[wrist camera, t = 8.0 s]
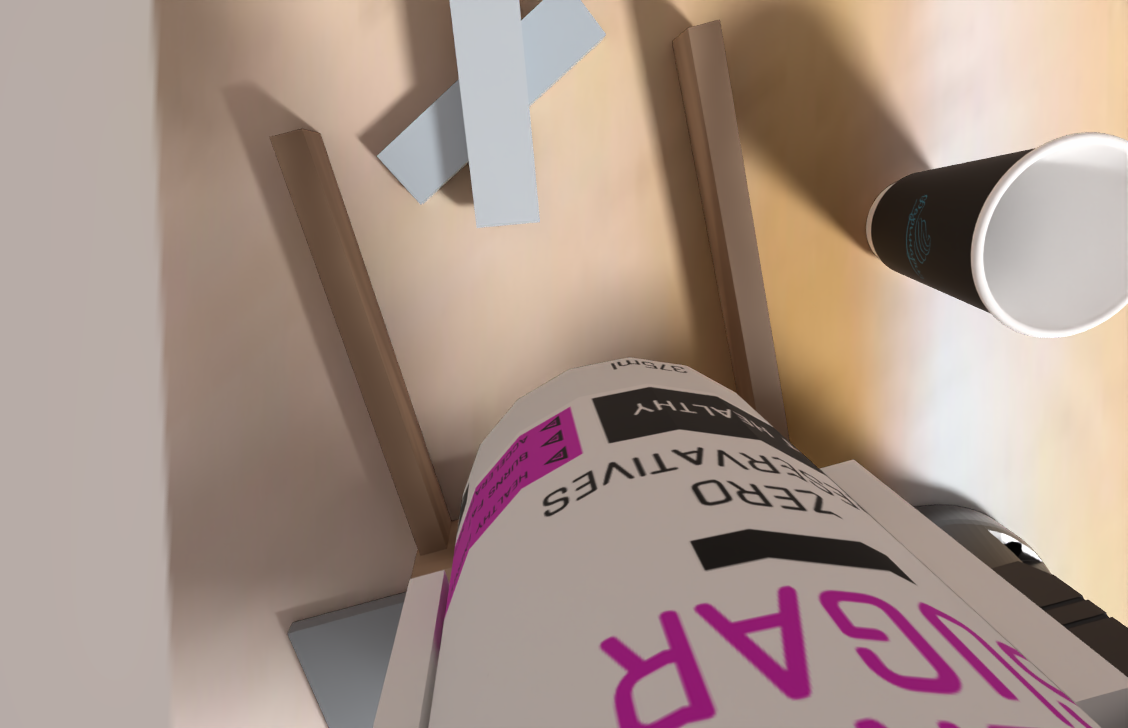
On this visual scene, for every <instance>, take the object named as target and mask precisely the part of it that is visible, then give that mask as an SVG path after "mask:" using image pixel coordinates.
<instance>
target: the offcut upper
mask: <svg viewBox="0 0 1128 728" xmlns="http://www.w3.org/2000/svg"><path fill="white" fill-rule="evenodd" d="M449 1H450V9H451V17H452V26H453V34H454V42H455V51H456V59H457V67H458V76H459V84H460V92H461V100H462V109H463V117H464V125H465V134H466V142H467V150H468V159H469V167H470V175H471V184H472V192H473V200H474V209H475V217H476V225H477V228H481V227H492V226H503V225H513V224H524V223H535V222H540V217H539V207H538V196H537V185H536V174H535V164H534V153H533V142H532V132H531V121H530V110H529V100H528V89H527V78H526V68H525V57H524V46H523V36H522V25H521V14H520V3H519V0H449Z"/></svg>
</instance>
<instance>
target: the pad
mask: <svg viewBox="0 0 1128 728" xmlns="http://www.w3.org/2000/svg"><path fill="white" fill-rule="evenodd" d="M405 596H406V592H404V593H401V594H397V595H393V596H390V597H386V598H382V599H379V600H375V601H371V602H367V603H364V604H360V605H356V606H353V607H349V608H345V609H342V610H338V611H334V612H330V613H327V614H323V615H319V616H316V617H312V618H308V619H305V620H301V621H297V622H293V623H292V625H291V627H290V629H289V631H288V633H287V634H288V636H289V639H290V641H291V643H292V645H293V648H294V650H295V652H296V654H297V657H298V659H299V661H300V663H301V666H302V668H303V670H304V673H305V675H306V677H307V679H308V682H309V684H310V686H311V688H312V691H313V693H314V695H315V697H316V700H317V702H318V704H319V706H320V709H321V711H322V713H323V715H324V718H325V720H326V722H327V724H328V727H329V728H373V725H374V721H375V717H376V713H377V709H378V705H379V701H380V697H381V693H382V689H383V685H384V681H385V677H386V673H387V669H388V665H389V661H390V657H391V653H392V649H393V645H394V641H395V637H396V633H397V629H398V624H399V620H400V616H401V612H402V608H403V604H404V600H405Z"/></svg>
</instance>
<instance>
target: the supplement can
mask: <svg viewBox="0 0 1128 728" xmlns="http://www.w3.org/2000/svg"><path fill="white" fill-rule="evenodd" d="M428 728H1101V727H1100V726H1099V725H1098V724H1097V723H1096V722H1095V721H1094V720H1093V719H1091V718H1090V717H1089V716H1088V715H1087V714H1086V713H1085V712H1084V711H1083V710H1082V709H1081V708H1079V707H1078V706H1077V705H1076V704H1075V703H1074V702H1073V701H1072V700H1071V699H1070V698H1069V697H1067V696H1066V695H1065V694H1064V693H1063V692H1062V691H1061V690H1060V689H1059V688H1058V687H1057V686H1055V685H1054V684H1053V683H1052V682H1051V681H1050V680H1049V679H1048V678H1047V677H1046V676H1045V675H1043V674H1042V673H1041V672H1040V671H1039V670H1038V669H1037V668H1036V667H1035V666H1034V665H1033V664H1031V663H1030V662H1029V661H1028V660H1027V659H1026V658H1025V657H1024V656H1023V655H1022V654H1020V653H1019V652H1018V651H1017V650H1016V649H1015V648H1014V647H1013V646H1012V645H1011V644H1010V643H1008V642H1007V641H1006V640H1005V639H1004V638H1003V637H1002V636H1001V635H1000V634H999V633H998V632H996V631H995V630H994V629H993V628H992V627H991V626H990V625H989V624H988V623H987V622H986V621H984V620H983V619H982V618H981V617H980V616H979V615H978V614H977V613H976V612H975V611H974V610H972V609H971V608H970V607H969V606H968V605H967V604H966V603H965V602H964V601H963V600H962V599H960V598H959V597H958V596H957V595H956V594H955V593H954V592H953V591H952V590H951V589H950V588H948V587H947V586H946V585H945V584H944V583H943V582H942V581H941V580H940V579H939V578H938V577H936V576H935V575H934V574H933V573H932V572H931V571H930V570H929V569H928V568H927V567H925V566H924V565H923V564H922V563H921V562H920V561H919V560H918V559H917V558H916V557H915V556H913V555H912V554H911V553H910V552H909V551H908V550H907V549H906V548H905V547H904V546H903V545H901V544H900V543H899V542H898V541H897V540H896V539H895V538H894V537H893V536H892V535H891V534H889V533H888V532H887V531H886V530H885V529H884V528H883V527H882V526H881V525H880V524H879V523H877V522H876V521H875V520H874V519H873V518H872V517H871V516H870V515H869V514H868V513H867V512H865V511H864V510H863V509H862V508H861V507H860V506H859V505H858V504H857V503H856V502H855V501H853V500H852V499H851V498H850V497H849V496H848V495H847V494H846V493H845V492H844V491H843V490H841V489H840V488H839V487H838V486H837V485H836V484H835V483H834V482H833V481H832V480H830V479H829V478H828V477H827V476H826V475H825V474H824V473H823V472H822V471H821V470H820V469H818V468H817V467H816V466H815V465H814V464H813V463H812V462H811V461H810V460H809V459H808V458H806V457H805V456H804V455H803V454H802V453H801V452H800V451H799V450H798V449H797V448H796V447H794V446H793V445H792V444H791V443H790V442H789V441H788V440H787V439H786V438H785V437H784V436H782V435H781V434H780V433H779V432H778V431H777V430H776V429H775V428H774V427H773V426H772V425H770V424H769V423H768V422H767V421H766V420H765V419H764V418H763V417H762V416H761V415H760V414H758V413H757V412H756V411H755V410H754V409H753V408H752V407H751V406H750V405H749V404H748V403H746V402H745V401H744V400H743V399H742V398H741V397H740V396H739V395H738V394H737V393H735V392H734V391H732V390H730V389H728V388H726V387H725V386H723V385H721V384H719V383H717V382H716V381H714V380H712V379H710V378H708V377H706V376H705V375H703V374H701V373H699V372H697V371H696V370H694V369H692V368H690V367H688V366H686V365H679V364H672V363H665V362H658V361H651V360H645V359H638V358H631V357H627V358H622V359H617V360H612V361H607V362H602V363H597V364H592V365H587V366H582V367H577V368H572V369H569V370H567V371H565V372H564V373H562V374H560V375H558V376H557V377H555V378H553V379H552V380H550V381H548V382H546V383H545V384H543V385H541V386H540V387H538V388H536V389H535V390H533V391H531V392H529V393H528V394H526V395H524V396H523V397H521V398H519V399H518V400H517V401H516V402H515V403H514V404H513V406H512V407H511V408H510V409H509V410H508V412H507V413H506V414H505V415H504V416H503V418H502V419H501V420H500V421H499V422H498V423H497V425H496V426H495V427H494V428H493V429H492V431H491V432H490V433H489V434H488V435H487V437H486V438H485V439H484V440H483V441H482V443H481V444H480V447H479V450H478V452H477V455H476V458H475V461H474V464H473V467H472V470H471V473H470V476H469V478H468V481H467V484H466V487H465V490H464V493H463V496H462V503H461V510H460V516H459V523H458V530H457V537H456V544H455V550H454V557H453V564H452V571H451V578H450V584H449V591H448V598H447V605H446V612H445V618H444V625H443V632H442V639H441V646H440V652H439V659H438V666H437V673H436V680H435V686H434V693H433V700H432V707H431V714H430V720H429V727H428Z"/></svg>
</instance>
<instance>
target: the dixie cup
mask: <svg viewBox="0 0 1128 728" xmlns="http://www.w3.org/2000/svg"><path fill="white" fill-rule="evenodd" d="M866 234H867V240H868V243H869V245H870V247H871V249H872V251H873V252H874V254H875V255H876V256H877V257H878V258H879V259H880V260H881V261H882V262H883V263H884V264H885V265H886V266H888V267H889V268H890V269H892V270H894V271H896V272H898V273H900V274H903V275H905V276H907V277H910V278H912V279H914V280H916V281H919V282H921V283H923V284H925V285H928V286H930V287H932V288H934V289H937V290H939V291H941V292H943V293H946V294H948V295H950V296H952V297H955V298H957V299H959V300H962V301H964V302H966V303H968V304H971V305H973V306H975V307H977V308H980V309H982V310H984V311H986V312H989V313H991V314H992V315H993V316H994V317H995V318H996V319H997V320H998V321H1000V322H1001V323H1002V324H1004V325H1005V326H1007V327H1008V328H1010V329H1012V330H1014V331H1016V332H1018V333H1021V334H1024V335H1027V336H1032V337H1040V338H1057V337H1065V336H1070V335H1074V334H1078V333H1081V332H1084V331H1086V330H1089V329H1091V328H1093V327H1095V326H1097V325H1099V324H1101V323H1102V322H1104V321H1106V320H1107V319H1109V318H1110V317H1112V316H1113V315H1114V314H1116V313H1117V312H1118V311H1119V310H1121V309H1122V308H1123V307H1124V306H1125V305H1126V304H1127V303H1128V141H1127V140H1125V139H1122V138H1119V137H1117V136H1113V135H1109V134H1105V133H1097V132H1085V133H1076V134H1071V135H1066V136H1063V137H1060V138H1057V139H1054V140H1052V141H1049V142H1047V143H1045V144H1043V145H1041V146H1039V147H1037V148H1035V149H1030V150H1025V151H1020V152H1015V153H1011V154H1006V155H1001V156H996V157H991V158H986V159H981V160H976V161H971V162H966V163H962V164H957V165H952V166H947V167H942V168H937V169H932V170H927V171H922V172H917V173H914V174H911V175H908V176H906V177H904V178H902V179H900V180H899V181H897V182H895V183H893V184H892V185H890V186H889V187H887V188H886V189H885V190H884V191H883V192H881V194H880V195H879V196H878V197H877V198H876V200H875V201H874V203H873V205H872V206H871V209H870V211H869V214H868V217H867V223H866Z"/></svg>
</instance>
